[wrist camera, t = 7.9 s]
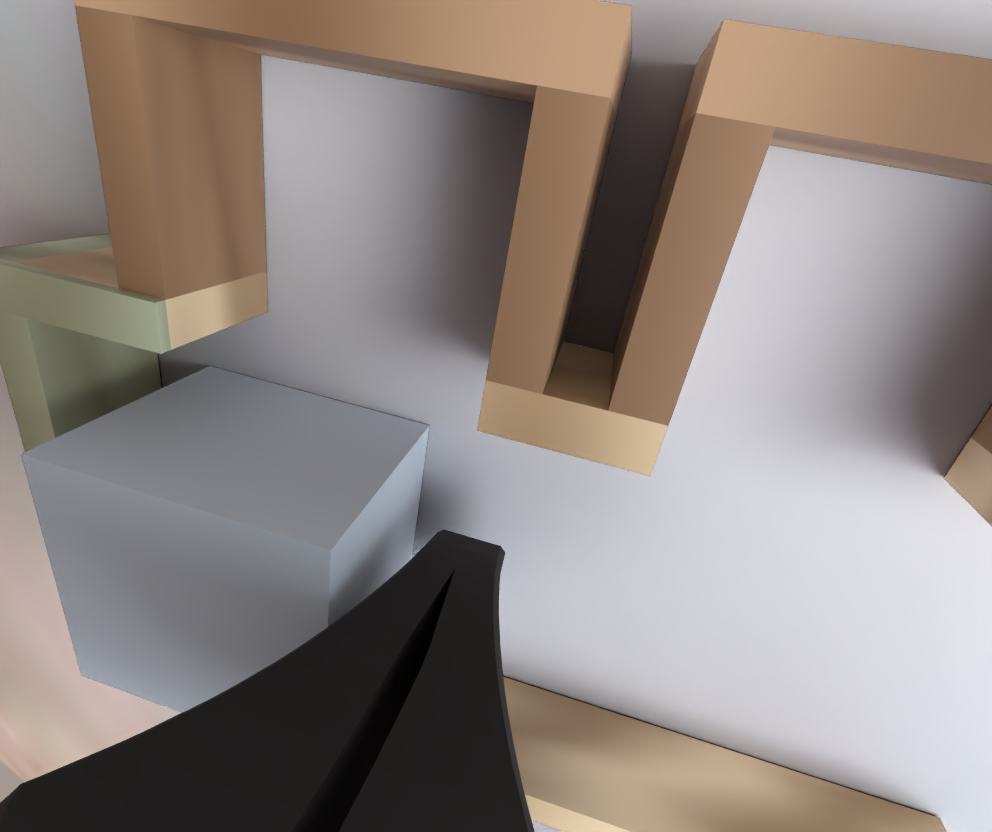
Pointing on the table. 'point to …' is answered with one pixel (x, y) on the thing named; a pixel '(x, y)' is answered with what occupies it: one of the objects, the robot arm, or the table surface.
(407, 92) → the table surface
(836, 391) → the table surface
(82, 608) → the block
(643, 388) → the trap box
